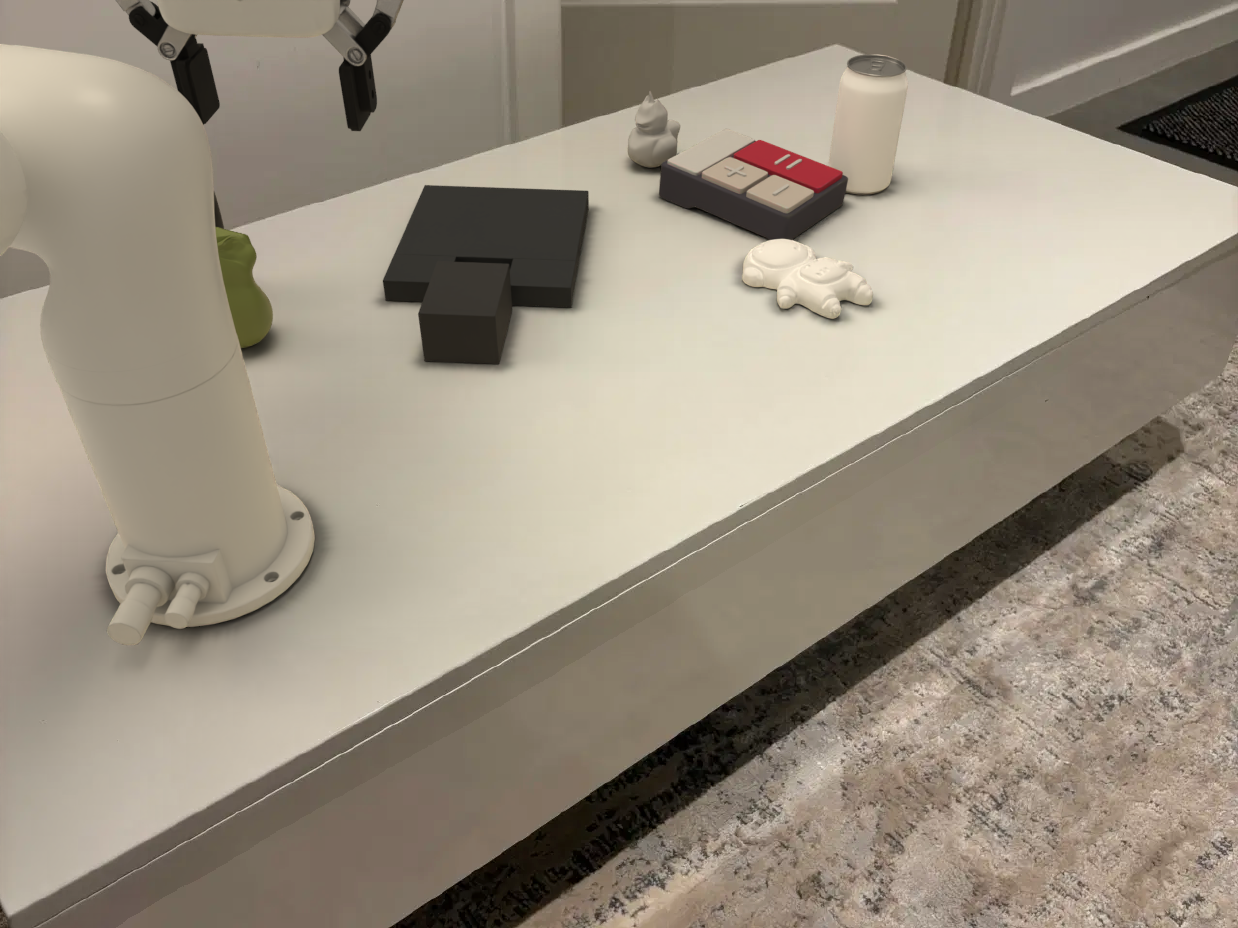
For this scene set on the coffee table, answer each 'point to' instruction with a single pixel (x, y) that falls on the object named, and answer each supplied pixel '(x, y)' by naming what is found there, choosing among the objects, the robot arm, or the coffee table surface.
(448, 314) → the black block
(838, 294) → the astronaut figurine
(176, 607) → the robot arm
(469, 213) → the base pad
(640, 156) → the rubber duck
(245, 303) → the pear
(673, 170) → the calculator
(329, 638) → the coffee table surface
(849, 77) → the can
